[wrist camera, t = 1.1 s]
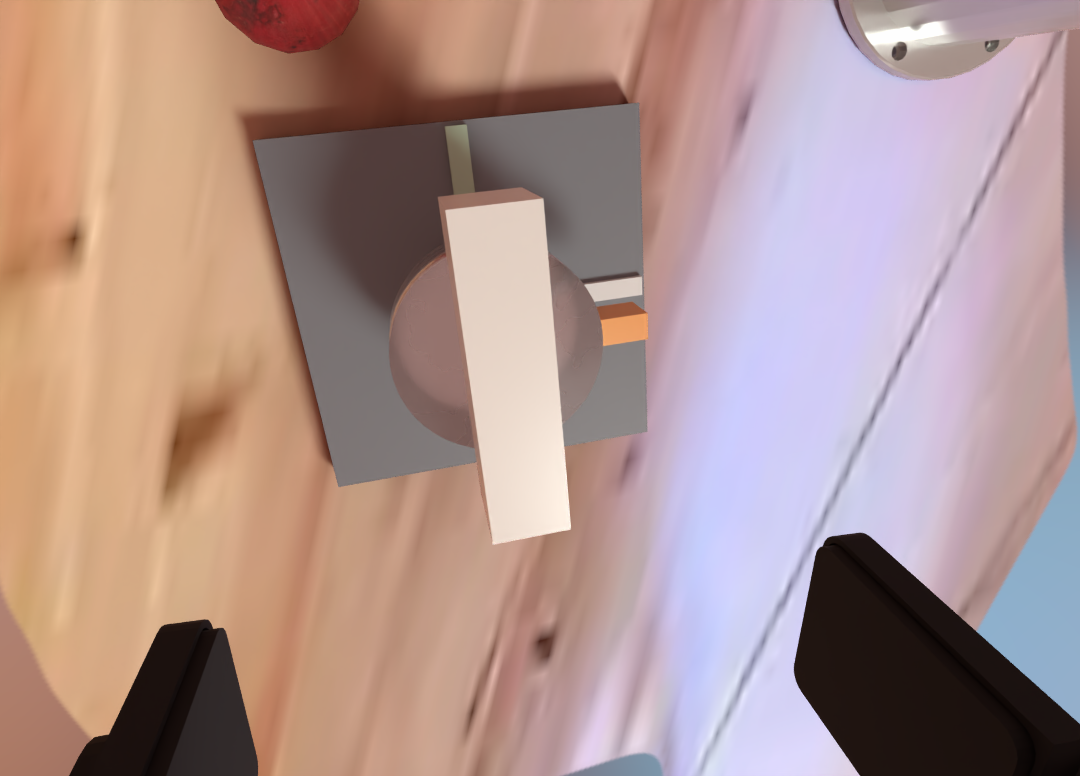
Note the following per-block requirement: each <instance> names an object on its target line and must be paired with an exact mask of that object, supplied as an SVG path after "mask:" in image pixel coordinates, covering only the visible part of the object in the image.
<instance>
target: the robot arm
mask: <svg viewBox="0 0 1080 776" xmlns="http://www.w3.org/2000/svg"><path fill="white" fill-rule="evenodd" d="M838 1H839V6H840V11H841V14H842V16H843V19H844V21H845V24H846V26H847V29H848V32H849V34H850V35H851V37H852V38H853V40H854V41H855V43H856V45H857V46H858V48H859V49H860V51H861V52H862V53H863V54H864V55H865V56H866V57H867V58H868V59H869V60H870V61H871V62H872V63H873V64H874V65H876V66H877V67H879V68H881V69H882V70H884V71H886V72H888V73H889V74H891V75H894V76H897V77H901V78H904V79H908V80H936V79H945V78H952V77H955V76H958V75H961V74H964V73H967V72H970V71H972V70H973V69H975V68H977V67H979V66H981V65H982V64H984V63H986V62H988V61H990V60H991V59H992V58H993V57H995V56H996V55H997V54H998V53H999V52H1001V51H1002V50H1003V49H1004V48H1006V47H1007V46H1008V45H1009V44H1010V43H1011V42H1012V41H1013V40H1014V39H1015V38H1016V37H1021V36H1028V35H1036V34H1043V33H1050V32H1058V31H1065V30H1072V29H1080V0H838ZM794 675H795V679H796V682H797V684H798V687H799V688H800V690H801V692H802V693H803V695H804V696H805V697H806V699H807V700H808V702H809V703H810V705H811V706H812V707H813V709H814V710H815V712H816V713H817V715H818V716H819V718H820V719H821V720H822V722H823V723H824V725H825V726H826V728H827V729H828V730H829V732H830V733H831V735H832V736H833V738H834V739H835V740H836V742H837V743H838V745H839V746H840V748H841V749H842V751H843V752H844V753H845V755H846V756H847V758H848V759H849V761H850V762H851V763H852V765H853V766H854V768H855V769H856V771H857V772H858V773H859V775H860V776H1080V724H1079V723H1078V722H1077V721H1076V720H1075V719H1074V718H1072V717H1071V716H1070V715H1069V714H1068V713H1067V712H1066V711H1065V710H1063V709H1062V708H1061V707H1060V706H1059V705H1058V704H1057V703H1056V702H1055V701H1053V700H1052V699H1051V698H1050V697H1049V696H1048V695H1047V694H1046V693H1044V692H1043V691H1042V690H1041V689H1040V688H1039V687H1038V686H1036V684H1034V683H1033V682H1032V681H1031V680H1030V679H1029V678H1028V677H1027V676H1025V675H1024V674H1023V673H1022V672H1021V671H1020V670H1019V669H1018V668H1016V667H1015V666H1014V665H1013V664H1012V663H1010V661H1009V660H1008V659H1006V658H1005V657H1004V656H1003V655H1002V654H1001V653H1000V652H999V651H997V650H996V649H995V648H994V647H993V646H992V645H991V644H989V643H988V642H987V641H986V640H985V639H984V638H983V637H982V636H981V635H979V634H978V633H977V632H976V631H975V630H974V629H973V628H972V627H971V626H970V625H968V624H967V623H966V622H965V621H964V620H963V619H962V618H961V617H959V616H958V615H957V614H956V613H955V612H954V611H953V610H952V609H950V608H949V607H948V606H947V605H946V604H945V603H944V602H943V601H942V600H940V599H939V598H938V597H937V596H936V595H935V594H934V593H933V592H931V591H930V590H929V589H928V588H927V587H926V586H925V585H924V584H923V583H921V582H920V581H919V580H918V579H917V578H916V577H915V576H914V575H912V574H911V573H910V572H909V571H908V570H907V569H906V568H905V567H904V566H902V565H901V564H900V563H899V562H898V561H897V560H896V559H895V558H893V557H892V556H891V555H890V554H889V553H888V552H887V551H886V550H884V549H883V548H882V547H881V546H880V545H879V544H878V543H877V542H876V541H874V540H873V539H872V538H871V537H870V536H868V535H867V534H864V533H854V534H846V535H839V536H832V537H829V538H827V539H826V540H825V542H824V545H823V547H820V548H819V549H818V550H817V552H816V556H815V561H814V566H813V571H812V576H811V581H810V587H809V592H808V597H807V602H806V607H805V612H804V617H803V622H802V627H801V632H800V638H799V643H798V648H797V653H796V658H795V663H794ZM69 776H258V761H257V755H256V751H255V747H254V743H253V739H252V735H251V731H250V727H249V723H248V719H247V715H246V711H245V707H244V703H243V699H242V694H241V690H240V686H239V682H238V678H237V674H236V670H235V666H234V662H233V658H232V654H231V650H230V646H229V642H228V638H227V634H226V631H225V630H224V628H217V629H213V627H212V625H211V623H210V621H209V620H197V621H190V622H182V623H175V624H167V625H164V626H162V627H161V628H160V629H159V631H158V633H157V634H156V637H155V639H154V641H153V643H152V645H151V647H150V649H149V651H148V653H147V656H146V658H145V660H144V662H143V664H142V666H141V668H140V670H139V672H138V675H137V677H136V679H135V681H134V683H133V685H132V687H131V689H130V691H129V694H128V696H127V698H126V700H125V702H124V704H123V706H122V708H121V710H120V713H119V715H118V717H117V719H116V721H115V723H114V725H113V727H112V729H111V732H110V734H109V735H103V736H98V737H94V738H93V739H92V740H91V741H90V742H89V743H88V744H87V745H86V746H85V748H84V749H83V751H82V753H81V754H80V756H79V757H78V759H77V761H76V763H75V765H74V767H73V769H72V771H71V773H70V775H69Z"/></svg>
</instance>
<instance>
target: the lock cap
mask: <svg viewBox="0 0 1080 776" xmlns="http://www.w3.org/2000/svg"><path fill="white" fill-rule="evenodd" d="M438 202H439V209H440V216H441V223H442V230H443V237H444V244H442V245H440V246H438V247H437V248H435V249H434V250H432V251H431V252H429V253H428V254H427V255H425V256H424V257H423V258H422V259H421V260H420V261H419V262H418V263H417V264H416V265H415V266H414V267H413V268H412V269H411V271H410V272H409V273H408V275H407V276H406V278H405V279H404V281H403V282H402V284H401V286H400V288H399V290H398V292H397V294H396V297H395V300H394V303H393V306H392V311H391V317H390V331H389V361H390V369H391V373H392V377H393V381H394V384H395V386H396V389H397V391H398V393H399V396H400V397H401V399H402V400H403V402H404V404H405V405H406V407H407V408H408V409H409V411H410V412H411V413H412V414H413V416H414V417H415V418H416V419H417V420H418V421H419V422H421V423H422V424H423V425H424V426H425V427H426V428H428V429H429V430H431V431H432V432H433V433H435V434H437V435H438V436H440V437H442V438H444V439H446V440H448V441H451V442H454V443H456V444H459V445H463V446H467V447H471V448H475V455H476V462H477V469H478V476H479V482H480V489H481V495H482V499H483V503H484V508H485V512H486V516H487V521H488V525H489V529H490V534H491V538H492V542H493V545H494V544H499V543H504V542H509V541H514V540H519V539H524V538H529V537H534V536H539V535H544V534H549V533H554V532H559V531H564V530H569V529H571V523H570V511H569V499H568V487H567V475H566V463H565V451H564V440H563V428H562V424H563V423H564V422H566V421H567V420H568V419H569V418H570V417H571V416H572V415H573V414H574V413H575V412H576V411H577V410H578V409H579V407H580V406H581V405H582V403H583V402H584V401H585V399H586V398H587V396H588V394H589V392H590V391H591V389H592V387H593V385H594V383H595V380H596V378H597V375H598V372H599V368H600V365H601V360H602V353H603V346H607V345H613V344H620V343H626V342H633V341H639V340H645V339H648V315H647V312H645V311H644V310H643V309H641V308H640V307H639V306H637V305H636V304H635V303H633V302H626V303H619V304H612V305H605V306H599V307H596V305H595V302H594V300H593V298H592V296H591V295H590V293H589V291H588V290H587V288H586V287H585V285H584V284H583V283H582V282H581V280H580V279H579V278H578V277H577V276H576V275H575V274H574V273H573V272H572V271H571V270H570V269H569V268H568V267H567V266H565V265H564V264H563V263H562V262H561V261H559V260H558V259H557V258H556V257H555V256H554V255H552V254H551V253H550V252H548V248H547V236H546V224H545V212H544V200H543V198H542V197H540V196H538V195H536V194H534V193H532V192H530V191H528V190H526V189H524V188H522V187H519V188H510V189H501V190H493V191H484V192H475V193H467V194H458V195H449V196H440V197H438Z"/></svg>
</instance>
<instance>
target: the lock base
mask: <svg viewBox="0 0 1080 776" xmlns="http://www.w3.org/2000/svg"><path fill="white" fill-rule="evenodd" d="M253 144H254V149H255V153H256V157H257V161H258V165H259V169H260V173H261V177H262V181H263V185H264V189H265V193H266V197H267V201H268V205H269V209H270V213H271V217H272V221H273V225H274V229H275V233H276V237H277V241H278V245H279V249H280V253H281V257H282V261H283V265H284V269H285V273H286V277H287V281H288V285H289V290H290V294H291V298H292V302H293V306H294V310H295V314H296V318H297V322H298V326H299V330H300V334H301V338H302V342H303V346H304V350H305V354H306V358H307V362H308V366H309V370H310V374H311V378H312V382H313V386H314V390H315V394H316V398H317V402H318V406H319V410H320V414H321V418H322V422H323V426H324V430H325V435H326V439H327V443H328V447H329V451H330V455H331V459H332V463H333V467H334V471H335V475H336V479H337V483H338V487H341V486H347V485H353V484H358V483H364V482H369V481H375V480H380V479H386V478H392V477H397V476H403V475H408V474H414V473H419V472H425V471H431V470H436V469H442V468H447V467H453V466H458V465H464V464H470V463H475V462H476V455H475V448H471V447H467V446H463V445H459V444H456V443H454V442H451V441H448V440H446V439H444V438H442V437H440V436H438V435H437V434H435V433H433V432H432V431H431V430H429V429H428V428H426V427H425V426H424V425H423V424H422V423H421V422H419V421H418V420H417V419H416V418H415V417H414V416H413V414H412V413H411V412H410V411H409V409H408V408H407V407H406V405H405V404H404V402H403V400H402V399H401V397H400V396H399V393H398V391H397V389H396V386H395V384H394V381H393V377H392V373H391V369H390V361H389V331H390V317H391V311H392V306H393V303H394V300H395V297H396V294H397V292H398V290H399V288H400V286H401V284H402V282H403V281H404V279H405V278H406V276H407V275H408V273H409V272H410V271H411V269H412V268H413V267H414V266H415V265H416V264H417V263H418V262H419V261H420V260H421V259H422V258H423V257H424V256H425V255H427V254H428V253H429V252H431V251H432V250H434V249H435V248H437V247H438V246H440V245H442V244H444V237H443V230H442V223H441V216H440V209H439V202H438V197H440V196H449V195H458V194H467V193H475V192H484V191H493V190H501V189H510V188H519V187H522V188H524V189H526V190H528V191H530V192H532V193H534V194H536V195H538V196H540V197H542V198H543V200H544V212H545V224H546V236H547V248H548V252H550V253H551V254H552V255H554V256H555V257H556V258H557V259H558V260H559V261H561V262H562V263H563V264H564V265H565V266H567V267H568V268H569V269H570V270H571V271H572V272H573V273H574V274H575V275H576V276H577V277H578V278H579V279H580V280H581V282H582V283H583V284H584V285H585V287H586V288H587V290H588V291H589V293H590V295H591V296H592V298H593V300H594V302H595V305H596V307H599V306H605V305H612V304H619V303H626V302H633V303H635V304H636V305H637V306H639V307H640V308H641V309H643V310H644V277H643V237H642V197H641V157H640V117H639V103H630V104H620V105H609V106H599V107H589V108H579V109H568V110H558V111H548V112H538V113H527V114H517V115H507V116H497V117H486V118H476V119H466V120H456V121H445V122H435V123H425V124H415V125H404V126H394V127H384V128H374V129H363V130H353V131H343V132H333V133H322V134H312V135H302V136H292V137H281V138H271V139H261V140H253ZM562 428H563V440H564V446H570V445H575V444H581V443H587V442H592V441H598V440H603V439H609V438H614V437H620V436H626V435H631V434H637V433H642V432H647V397H646V357H645V340H639V341H633V342H626V343H620V344H613V345H607V346H603V353H602V360H601V365H600V368H599V372H598V375H597V378H596V380H595V383H594V385H593V387H592V389H591V391H590V392H589V394H588V396H587V398H586V399H585V401H584V402H583V403H582V405H581V406H580V407H579V409H578V410H577V411H576V412H575V413H574V414H573V415H572V416H571V417H570V418H569V419H568V420H567V421H566V422H564V423H563V424H562Z"/></svg>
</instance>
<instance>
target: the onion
mask: <svg viewBox="0 0 1080 776" xmlns="http://www.w3.org/2000/svg"><path fill="white" fill-rule="evenodd" d="M215 1H216V3H217V4H218V6H219V8H220V10H221V11H222V13H223V15H224V17H225V18H226V19H227V20H229V21H230V22H231V23H232V24H233V25H234V26H236V27H237V28H238V29H239V30H240V31H242V32H243V33H244V34H245V35H246V36H248V37H249V38H250V39H251V40H252V41H254V42H255V43H257V44H261V45H264V46H267V47H270V48H273V49H276V50H279V51H282V52H285V53H296V52H303V51H310V50H317V49H320V48H321V47H323V46H324V45H326V44H328V43H329V42H331V41H332V40H334V39H335V38H337V37H338V36H340V35H342V34H343V32H344V30H345V29H346V27H347V26H348V24H349V22H350V21H351V19H352V18H353V16H354V15H355V13H356V11H357V9H358V5H359V0H215Z"/></svg>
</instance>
